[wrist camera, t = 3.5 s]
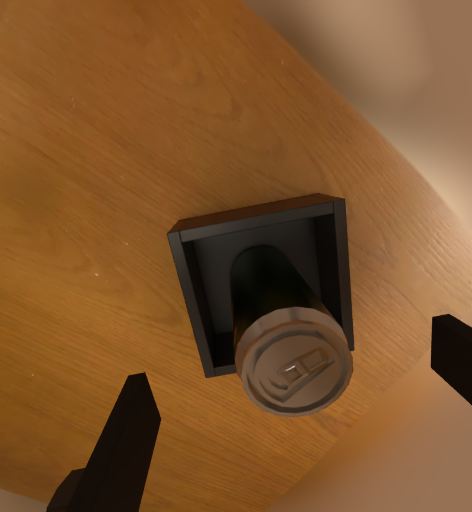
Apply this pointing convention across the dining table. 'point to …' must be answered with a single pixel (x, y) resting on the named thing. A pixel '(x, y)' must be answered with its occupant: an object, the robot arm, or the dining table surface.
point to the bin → (250, 236)
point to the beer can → (284, 337)
